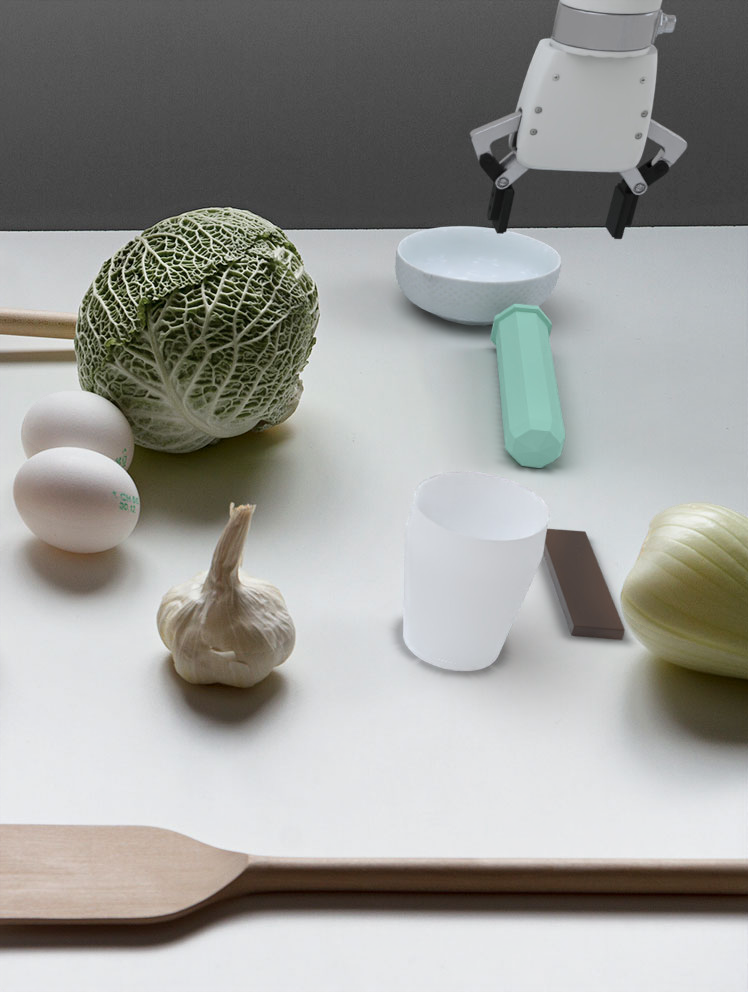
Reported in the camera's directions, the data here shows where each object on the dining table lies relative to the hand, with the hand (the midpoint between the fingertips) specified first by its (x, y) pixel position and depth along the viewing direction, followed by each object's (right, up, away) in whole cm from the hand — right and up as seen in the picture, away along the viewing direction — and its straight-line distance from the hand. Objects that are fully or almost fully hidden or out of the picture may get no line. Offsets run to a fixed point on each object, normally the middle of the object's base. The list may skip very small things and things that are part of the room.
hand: (555, 230), depth 113 cm
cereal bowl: (+3, -3, +29) cm, 29 cm away
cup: (-16, -34, -20) cm, 43 cm away
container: (+1, -15, +10) cm, 18 cm away
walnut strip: (-5, -30, -14) cm, 34 cm away
